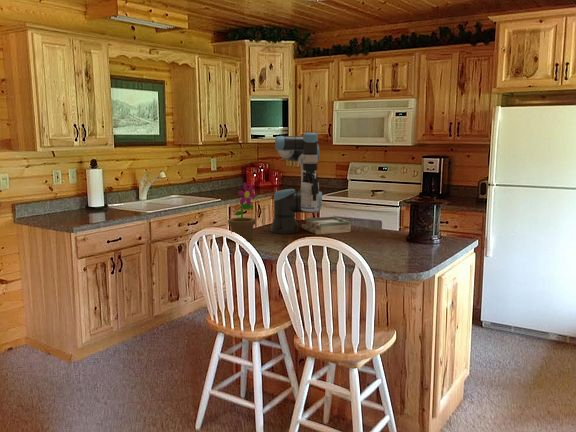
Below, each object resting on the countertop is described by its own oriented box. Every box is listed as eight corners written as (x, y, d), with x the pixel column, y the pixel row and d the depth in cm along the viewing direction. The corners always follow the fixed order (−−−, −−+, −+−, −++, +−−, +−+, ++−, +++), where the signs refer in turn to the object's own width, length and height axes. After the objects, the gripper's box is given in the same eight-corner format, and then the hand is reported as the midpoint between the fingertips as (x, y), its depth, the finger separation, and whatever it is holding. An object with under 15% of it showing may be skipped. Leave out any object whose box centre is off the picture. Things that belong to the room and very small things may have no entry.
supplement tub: (309, 208, 293) (309, 181, 290) (322, 210, 286) (323, 182, 284) (296, 210, 286) (297, 182, 283) (310, 212, 279) (310, 184, 277)
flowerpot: (241, 243, 272) (240, 183, 267) (222, 239, 282) (221, 181, 277) (261, 239, 282) (261, 181, 278) (243, 235, 292) (242, 179, 287)
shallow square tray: (301, 227, 313) (301, 218, 312) (334, 225, 321) (334, 216, 320) (316, 234, 295) (316, 224, 294) (350, 231, 302) (350, 222, 301)
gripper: (295, 161, 291) (295, 202, 294) (312, 164, 270) (311, 209, 274) (308, 161, 293) (308, 202, 297) (325, 164, 273) (325, 208, 277)
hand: (309, 205), depth 286 cm, fingers closed on supplement tub, 9 cm apart
